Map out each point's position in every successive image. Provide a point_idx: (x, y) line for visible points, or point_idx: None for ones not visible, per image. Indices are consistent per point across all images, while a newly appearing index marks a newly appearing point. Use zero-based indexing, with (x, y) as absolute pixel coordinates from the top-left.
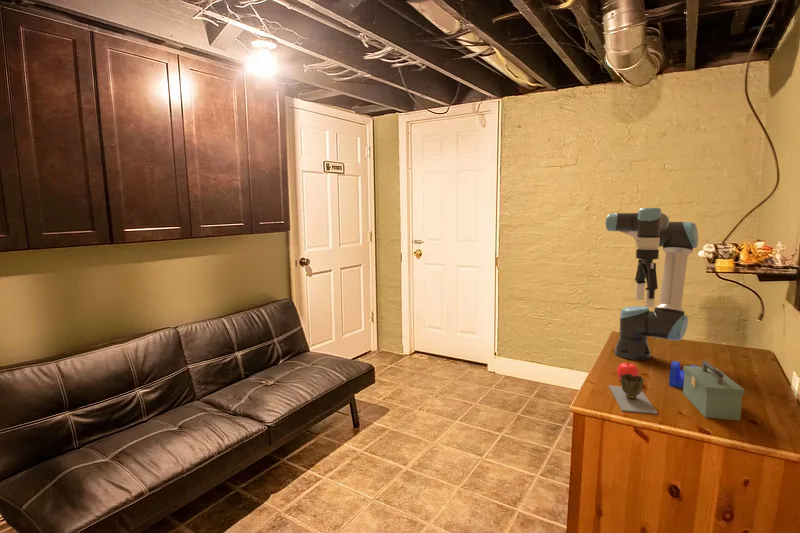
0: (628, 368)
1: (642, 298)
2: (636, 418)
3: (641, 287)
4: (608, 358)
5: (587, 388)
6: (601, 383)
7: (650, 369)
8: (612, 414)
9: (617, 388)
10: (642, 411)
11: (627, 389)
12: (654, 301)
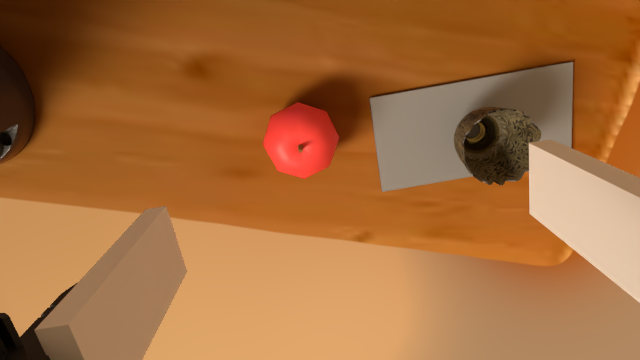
0: (331, 146)
1: (164, 226)
2: (609, 122)
3: (113, 323)
4: (68, 189)
5: (417, 246)
6: (359, 210)
7: (126, 40)
8: None
9: (401, 167)
10: (570, 104)
11: (512, 152)
12: (590, 157)
